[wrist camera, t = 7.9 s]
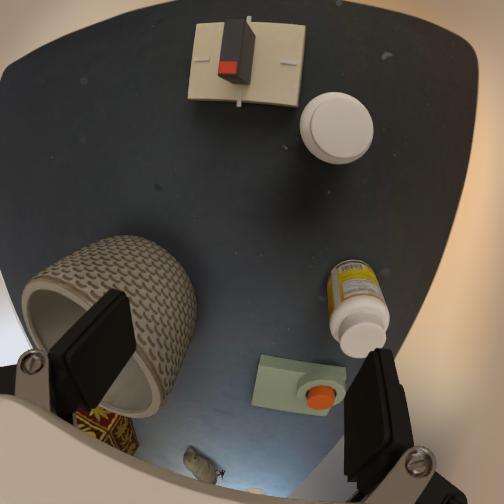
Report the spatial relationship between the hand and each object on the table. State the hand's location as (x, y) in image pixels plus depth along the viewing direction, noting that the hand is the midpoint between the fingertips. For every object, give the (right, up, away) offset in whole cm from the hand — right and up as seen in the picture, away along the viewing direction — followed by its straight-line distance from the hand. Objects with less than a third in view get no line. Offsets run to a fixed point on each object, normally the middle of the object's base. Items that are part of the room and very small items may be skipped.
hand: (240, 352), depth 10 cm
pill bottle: (+8, +15, +14) cm, 22 cm away
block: (+7, -16, +29) cm, 33 cm away
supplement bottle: (+11, +1, +20) cm, 23 cm away
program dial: (0, +20, +11) cm, 23 cm away
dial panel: (0, +21, +13) cm, 25 cm away
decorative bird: (-11, -50, +49) cm, 71 cm away
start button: (+10, -15, +24) cm, 30 cm away
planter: (-12, 0, +25) cm, 28 cm away
